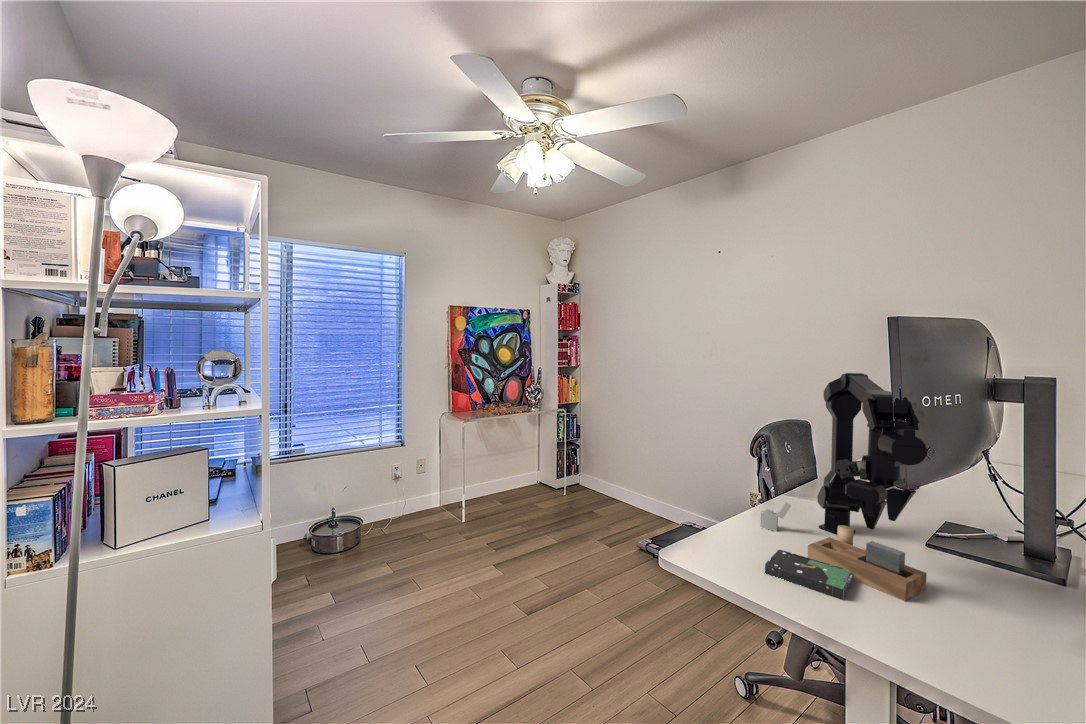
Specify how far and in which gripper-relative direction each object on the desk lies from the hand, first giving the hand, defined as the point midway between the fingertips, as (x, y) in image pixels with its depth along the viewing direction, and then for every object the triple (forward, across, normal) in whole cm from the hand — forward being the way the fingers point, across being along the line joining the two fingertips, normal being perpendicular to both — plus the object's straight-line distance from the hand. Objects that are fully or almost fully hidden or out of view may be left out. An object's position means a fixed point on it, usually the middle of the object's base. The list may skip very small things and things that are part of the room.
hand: (881, 524), depth 94 cm
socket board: (+12, +1, -3) cm, 12 cm away
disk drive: (+12, +13, -8) cm, 20 cm away
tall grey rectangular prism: (+12, +1, +1) cm, 12 cm away
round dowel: (+12, -7, -10) cm, 17 cm away
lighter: (+12, -4, -26) cm, 29 cm away
